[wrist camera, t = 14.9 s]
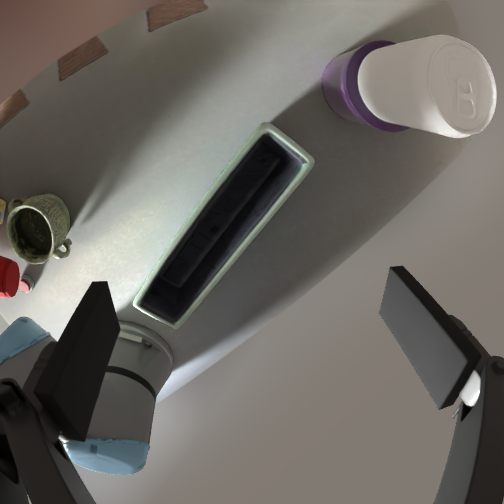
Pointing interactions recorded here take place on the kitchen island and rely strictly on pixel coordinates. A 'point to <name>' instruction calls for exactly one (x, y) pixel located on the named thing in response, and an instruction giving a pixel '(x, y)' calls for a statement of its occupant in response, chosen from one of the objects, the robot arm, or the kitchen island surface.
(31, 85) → the kitchen island surface
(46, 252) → the vessel
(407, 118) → the beverage can
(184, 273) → the planter
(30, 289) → the push button
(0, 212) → the candy box
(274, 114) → the kitchen island surface
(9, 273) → the plastic cup
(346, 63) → the jar
